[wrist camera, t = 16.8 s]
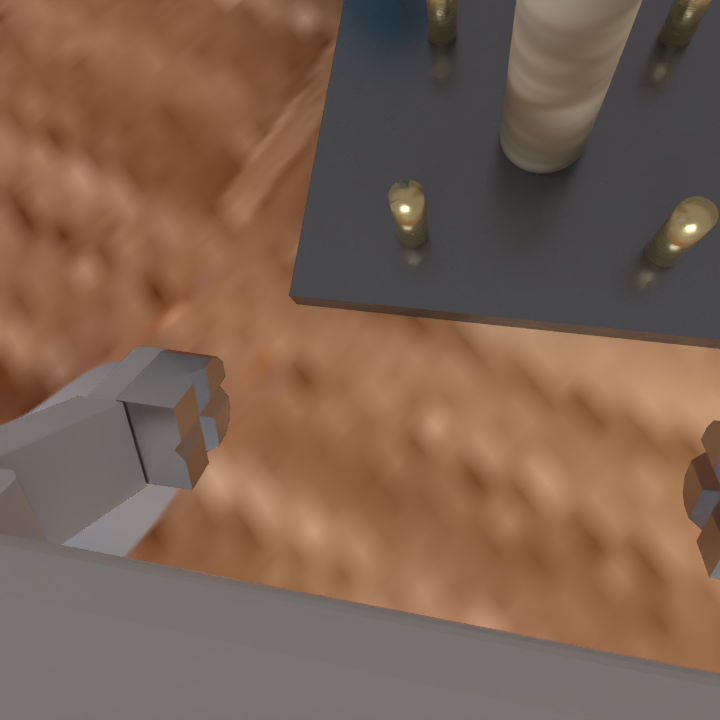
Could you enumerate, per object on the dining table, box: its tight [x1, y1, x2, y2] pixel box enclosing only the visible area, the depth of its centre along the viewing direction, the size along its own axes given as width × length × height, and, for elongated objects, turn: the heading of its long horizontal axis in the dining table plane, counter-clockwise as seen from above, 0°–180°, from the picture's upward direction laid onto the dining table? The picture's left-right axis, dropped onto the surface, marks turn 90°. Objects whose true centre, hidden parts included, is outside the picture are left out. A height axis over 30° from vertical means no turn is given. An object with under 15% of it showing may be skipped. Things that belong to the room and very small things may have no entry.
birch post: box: [500, 0, 642, 173], centre depth 24 cm, size 4×4×10 cm
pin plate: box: [289, 0, 720, 349], centre depth 28 cm, size 24×20×6 cm
